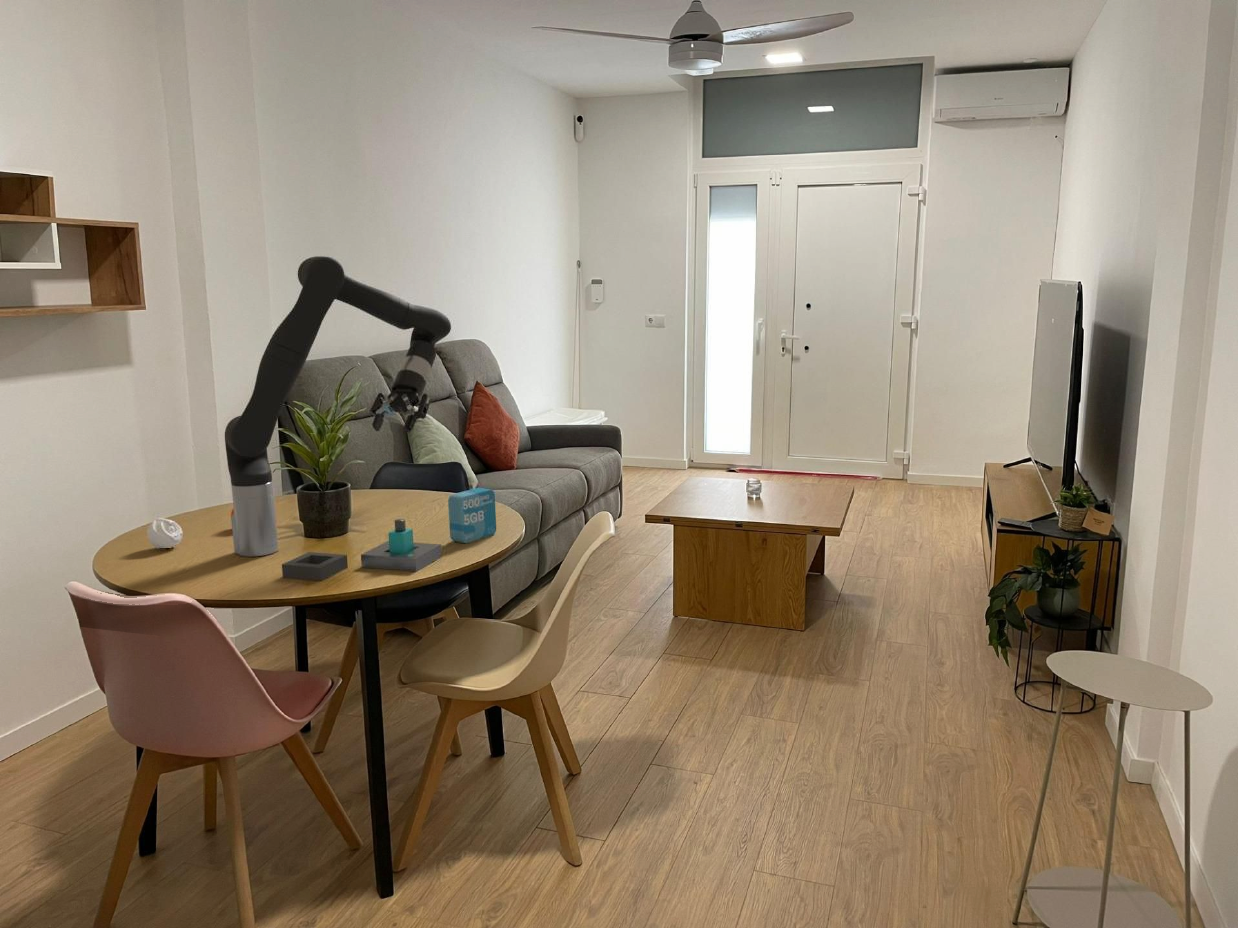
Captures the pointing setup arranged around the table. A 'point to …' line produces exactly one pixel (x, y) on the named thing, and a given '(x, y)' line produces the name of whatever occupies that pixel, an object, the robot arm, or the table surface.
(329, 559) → the holster
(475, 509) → the data package
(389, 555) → the port block
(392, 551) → the plug
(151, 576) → the table surface
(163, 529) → the motion sensor
